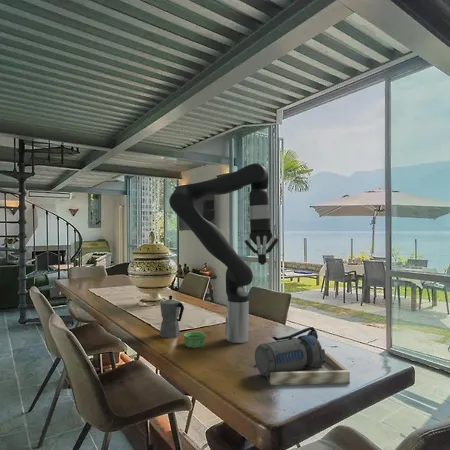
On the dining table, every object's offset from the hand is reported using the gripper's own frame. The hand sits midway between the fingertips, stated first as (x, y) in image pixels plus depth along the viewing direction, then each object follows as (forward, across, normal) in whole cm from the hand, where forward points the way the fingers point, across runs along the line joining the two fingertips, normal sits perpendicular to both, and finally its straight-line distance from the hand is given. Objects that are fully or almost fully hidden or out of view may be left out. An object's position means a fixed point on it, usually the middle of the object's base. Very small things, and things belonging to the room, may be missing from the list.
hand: (262, 264), depth 129 cm
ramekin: (+34, -28, +16) cm, 47 cm away
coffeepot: (+34, -40, +28) cm, 59 cm away
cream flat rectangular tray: (+36, +10, -12) cm, 39 cm away
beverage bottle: (+28, -4, -17) cm, 33 cm away
